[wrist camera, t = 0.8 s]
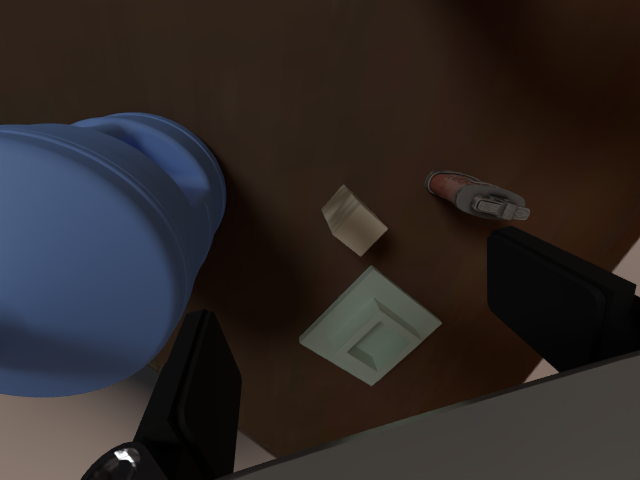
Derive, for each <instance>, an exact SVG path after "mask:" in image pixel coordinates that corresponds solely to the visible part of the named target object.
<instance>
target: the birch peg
mask: <svg viewBox="0 0 640 480" xmlns="http://www.w3.org/2000/svg"><path fill="white" fill-rule="evenodd" d="M321 210H322V212H323V214H324V216H325V218H326V221H327V223H328V225H329V227H330V229H331V232H332V234H333V235H334V236H335V237H337V238H338V239H339V240H340V241H342V242H343V243H344V244H345V245H347V246H348V247H349V248H350V249H352V250H353V251H354V252H355V253H357V254H358V255H359V256H360V257H361V256H362V255H363V254H364V253H365V252H366V251H367V250H368V249H369V248H370V247H371V246H372V245H373V244H374V243H375V242H376V241H377V240H378V238H379V237H380V236H381V235H382V234H383V233H384V232H385V231H386V230H387V229H388V228H387V227H386V226H385V225H384V224H383V223H382V222H381V220H380V219H379V218H378V217H377V216H376V215H375V214H374V213H373V212H372V210H371V209H370V208H369V207H368V206H367V205H366V204H365V203H364V202H363V201H362V200H361V199H359V198H358V197H357V196H356V195H355V194H354V193H353V192H352V191H350V190H349V189H348V188H347V187H346V186H345V185H343V186H342V187H341V188H340V189H339V190H338V191H337V192H336V193H335V195H334V196H333V197H332V198H331V199H330V200H329V201H328V202H327V203H326V205H325V206H324V207H323V208H322V209H321Z"/></svg>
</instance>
